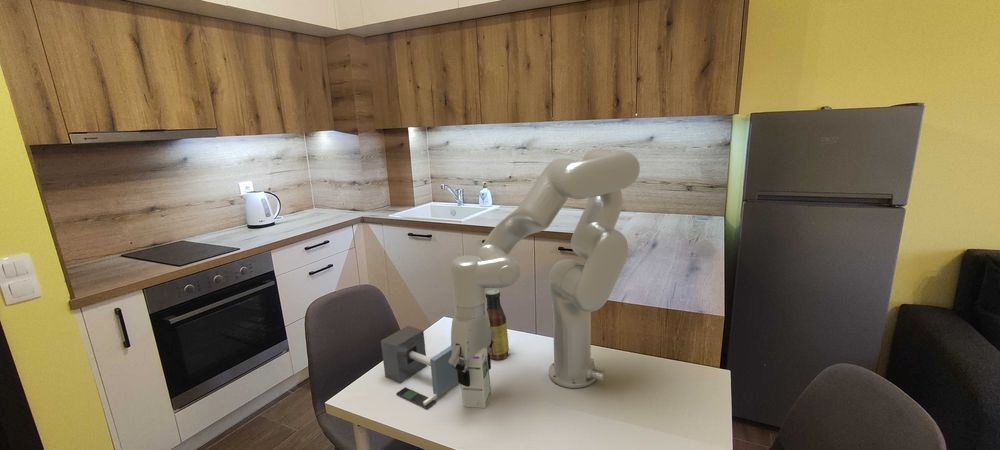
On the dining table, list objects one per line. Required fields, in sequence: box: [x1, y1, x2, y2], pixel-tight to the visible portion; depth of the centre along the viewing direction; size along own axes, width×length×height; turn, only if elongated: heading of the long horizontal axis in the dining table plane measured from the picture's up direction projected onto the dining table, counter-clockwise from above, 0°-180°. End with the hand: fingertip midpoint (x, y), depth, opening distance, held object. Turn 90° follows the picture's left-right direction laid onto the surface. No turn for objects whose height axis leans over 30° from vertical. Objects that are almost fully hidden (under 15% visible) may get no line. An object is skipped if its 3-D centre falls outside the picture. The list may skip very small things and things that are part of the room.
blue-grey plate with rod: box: [407, 345, 458, 405], centre depth 115 cm, size 15×14×10 cm
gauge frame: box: [380, 325, 437, 410], centre depth 117 cm, size 20×14×11 cm
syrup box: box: [460, 348, 492, 409], centre depth 107 cm, size 6×6×14 cm
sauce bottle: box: [485, 288, 510, 361], centre depth 127 cm, size 7×6×20 cm
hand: (475, 375), depth 108 cm, fingers closed on syrup box, 7 cm apart
